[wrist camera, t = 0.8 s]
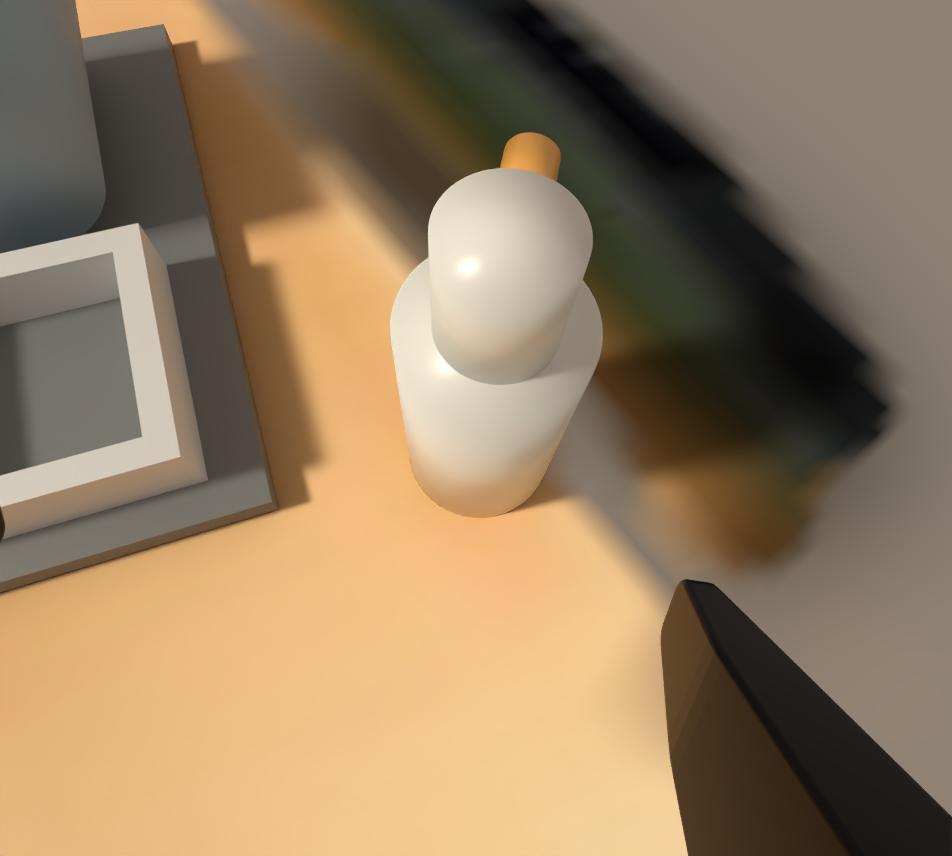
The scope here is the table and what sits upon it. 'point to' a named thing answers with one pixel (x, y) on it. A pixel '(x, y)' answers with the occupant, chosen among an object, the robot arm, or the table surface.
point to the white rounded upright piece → (496, 332)
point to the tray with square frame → (110, 307)
